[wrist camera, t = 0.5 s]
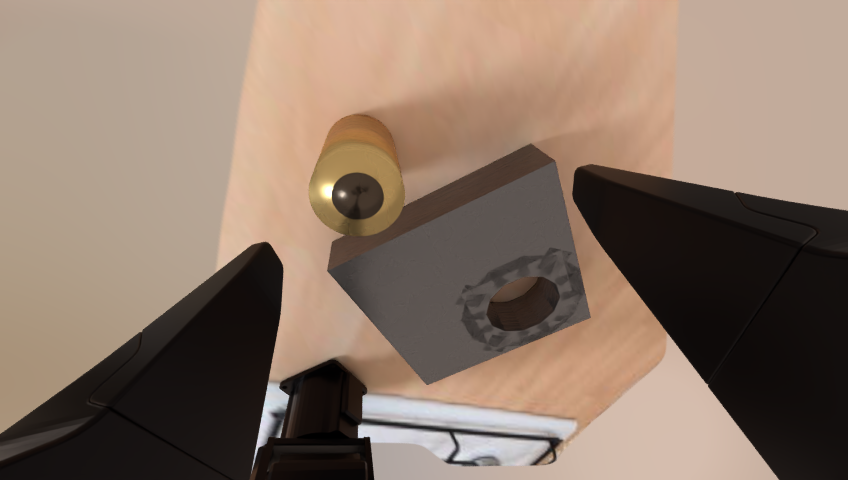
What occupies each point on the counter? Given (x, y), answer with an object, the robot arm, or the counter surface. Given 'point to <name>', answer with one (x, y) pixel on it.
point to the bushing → (357, 178)
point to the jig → (469, 267)
